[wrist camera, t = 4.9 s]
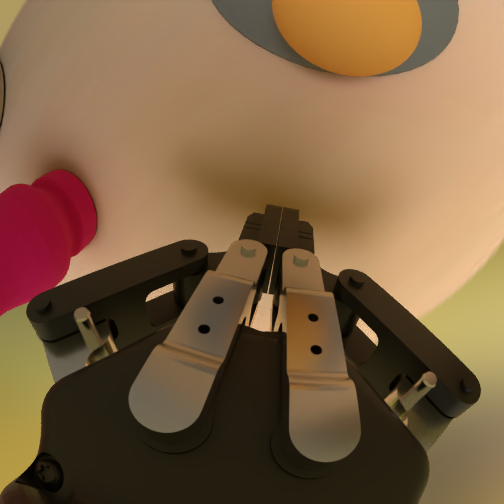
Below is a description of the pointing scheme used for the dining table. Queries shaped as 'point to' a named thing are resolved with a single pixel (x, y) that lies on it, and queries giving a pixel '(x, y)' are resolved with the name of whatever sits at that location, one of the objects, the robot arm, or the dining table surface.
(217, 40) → the dining table surface
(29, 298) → the pepper mill
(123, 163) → the dining table surface
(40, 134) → the dining table surface
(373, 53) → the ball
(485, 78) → the dining table surface
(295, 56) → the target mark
